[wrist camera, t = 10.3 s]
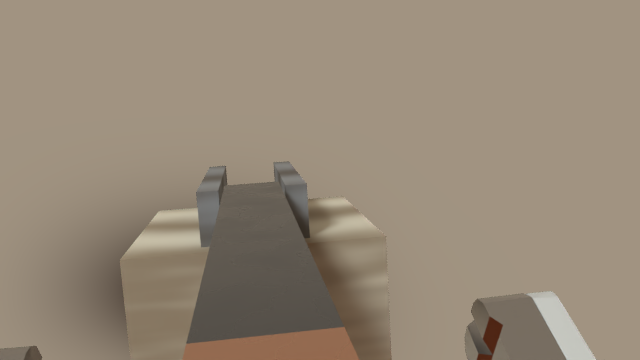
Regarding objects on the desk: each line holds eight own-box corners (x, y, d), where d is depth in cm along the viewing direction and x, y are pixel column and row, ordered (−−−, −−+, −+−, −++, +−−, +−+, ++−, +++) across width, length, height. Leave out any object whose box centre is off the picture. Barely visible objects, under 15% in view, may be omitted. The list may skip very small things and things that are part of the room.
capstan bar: (228, 238, 27) (224, 185, 27) (282, 233, 27) (278, 181, 27) (191, 563, 8) (175, 390, 8) (371, 536, 8) (362, 368, 8)
